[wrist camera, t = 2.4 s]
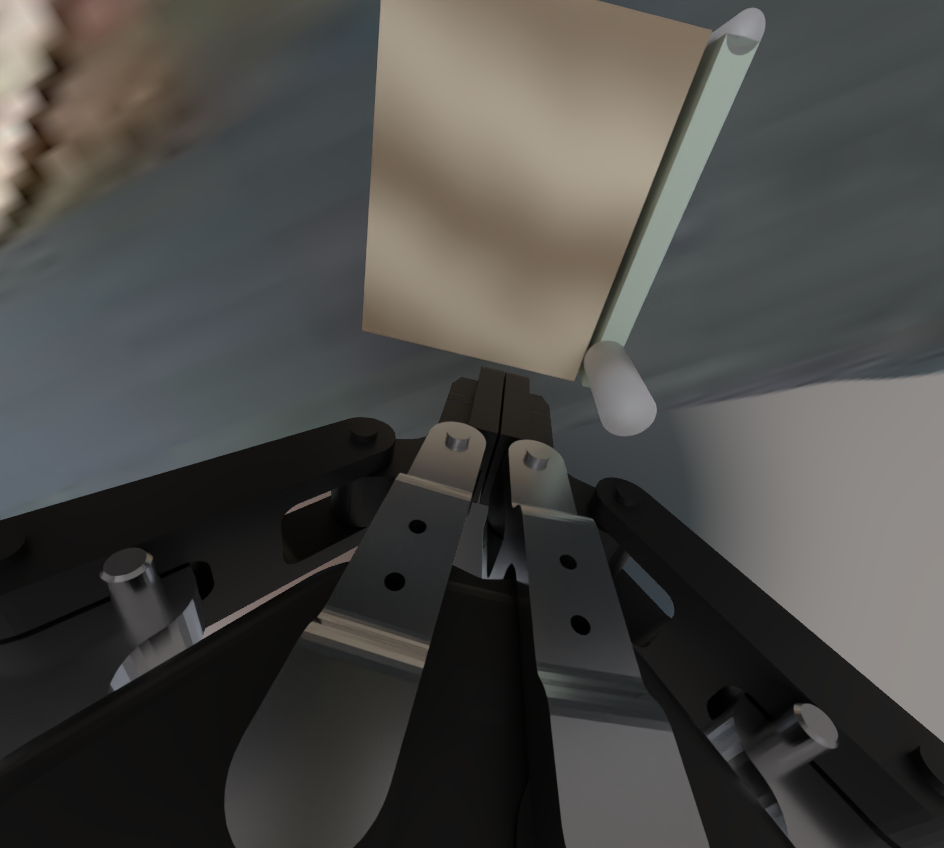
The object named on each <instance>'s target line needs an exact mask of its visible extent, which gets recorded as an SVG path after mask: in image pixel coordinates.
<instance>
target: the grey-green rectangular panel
mask: <svg viewBox="0 0 944 848" xmlns="http://www.w3.org/2000/svg"><path fill="white" fill-rule="evenodd" d="M764 30H765V17H764V15H763V13H762V12H761V11H760V10H759V9H757V8H748V9H746V10H744V11H742V12H741V13H739V14H738V15H736V16H735V17H734V18H732V19H731V20H730V21H728V22H727V23H725V24H724V25H723V26H721V27H720V28H718V29H717V30H716V31H714V32H713V33H712V34H711V35H710V37H709V40H708V42H707V45H706V47H705V50H704V52H703V55H702V57H701V60H700V62H699V65H698V68H697V70H696V73H695V75H694V78H693V80H692V83H691V85H690V88H689V90H688V93H687V96H686V98H685V101H684V103H683V106H682V108H681V111H680V113H679V116H678V118H677V121H676V123H675V126H674V129H673V131H672V134H671V136H670V139H669V141H668V144H667V146H666V149H665V151H664V154H663V157H662V159H661V162H660V164H659V167H658V169H657V172H656V174H655V177H654V179H653V182H652V185H651V187H650V190H649V192H648V195H647V197H646V200H645V202H644V205H643V207H642V210H641V212H640V215H639V218H638V220H637V223H636V225H635V228H634V230H633V233H632V235H631V238H630V240H629V243H628V246H627V248H626V251H625V253H624V256H623V258H622V261H621V263H620V266H619V268H618V271H617V273H616V276H615V279H614V281H613V284H612V286H611V289H610V291H609V294H608V296H607V299H606V301H605V304H604V307H603V309H602V312H601V314H600V317H599V319H598V322H597V324H596V327H595V329H594V332H593V334H592V337H591V340H590V342H589V345H588V347H587V350H586V352H585V355H584V357H583V360H582V362H581V365H580V368H579V370H578V371H579V375H580V379H581V382H582V386H585V387H589V388H591V390H592V394H593V397H594V400H595V403H596V407H597V410H598V413H599V416H600V420H601V423H602V425H603V426H604V428H605V429H606V430H607V431H609V432H610V433H612V434H615V435H619V436H631V435H635V434H638V433H640V432H642V431H644V430H645V429H647V428H648V427H649V426H650V425H651V424H652V422H653V421H654V418H655V416H656V412H657V409H656V404H655V402H654V400H653V398H652V396H651V395H650V393H649V391H648V389H647V388H646V386H645V384H644V382H643V381H642V379H641V377H640V375H639V373H638V372H637V370H636V368H635V366H634V365H633V363H632V361H631V359H630V357H629V356H628V354H627V352H626V350H625V349H624V345H625V343H626V341H627V338H628V336H629V334H630V332H631V329H632V327H633V325H634V323H635V320H636V318H637V316H638V314H639V311H640V309H641V307H642V305H643V303H644V300H645V298H646V296H647V294H648V291H649V289H650V287H651V285H652V282H653V280H654V278H655V276H656V273H657V271H658V269H659V267H660V264H661V262H662V260H663V258H664V256H665V253H666V251H667V249H668V247H669V244H670V242H671V240H672V238H673V235H674V233H675V231H676V229H677V226H678V224H679V222H680V220H681V217H682V215H683V213H684V211H685V209H686V206H687V204H688V202H689V200H690V197H691V195H692V193H693V191H694V188H695V186H696V184H697V182H698V179H699V177H700V175H701V173H702V170H703V168H704V166H705V164H706V162H707V159H708V157H709V155H710V153H711V150H712V148H713V146H714V144H715V141H716V139H717V137H718V135H719V132H720V130H721V128H722V126H723V123H724V121H725V119H726V117H727V115H728V112H729V110H730V108H731V106H732V103H733V101H734V99H735V97H736V94H737V92H738V90H739V88H740V85H741V83H742V81H743V79H744V76H745V74H746V72H747V70H748V68H749V65H750V63H751V61H752V59H753V56H754V54H755V52H756V50H757V47H758V45H759V43H760V40H761V38H762V36H763V34H764Z"/></svg>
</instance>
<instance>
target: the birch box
mask: <svg viewBox="0 0 944 848" xmlns="http://www.w3.org/2000/svg"><path fill="white" fill-rule="evenodd" d="M711 32H712V30H709V29H705V28H701V27H698V26H694V25H690V24H686V23H682V22H678V21H675V20H671V19H667V18H663V17H659V16H655V15H652V14H648V13H644V12H640V11H636V10H632V9H628V8H625V7H621V6H617V5H613V4H609V3H605V2H602V1H598V0H381V8H380V26H379V43H378V60H377V78H376V95H375V112H374V130H373V147H372V164H371V182H370V199H369V217H368V234H367V251H366V269H365V286H364V303H363V321H362V331H366V332H370V333H375V334H379V335H383V336H387V337H391V338H395V339H400V340H404V341H408V342H412V343H416V344H420V345H425V346H429V347H433V348H437V349H441V350H445V351H450V352H454V353H458V354H462V355H466V356H470V357H475V358H479V359H483V360H487V361H491V362H495V363H500V364H504V365H508V366H512V367H516V368H520V369H525V370H529V371H533V372H537V373H541V374H545V375H550V376H554V377H558V378H562V379H566V380H570V381H574V380H575V378H576V375H577V373H578V370H579V368H580V365H581V362H582V360H583V357H584V355H585V352H586V350H587V347H588V345H589V342H590V340H591V337H592V334H593V332H594V329H595V327H596V324H597V322H598V319H599V317H600V314H601V312H602V309H603V307H604V304H605V301H606V299H607V296H608V294H609V291H610V289H611V286H612V284H613V281H614V279H615V276H616V273H617V271H618V268H619V266H620V263H621V261H622V258H623V256H624V253H625V251H626V248H627V246H628V243H629V240H630V238H631V235H632V233H633V230H634V228H635V225H636V223H637V220H638V218H639V215H640V212H641V210H642V207H643V205H644V202H645V200H646V197H647V195H648V192H649V190H650V187H651V185H652V182H653V179H654V177H655V174H656V172H657V169H658V167H659V164H660V162H661V159H662V157H663V154H664V151H665V149H666V146H667V144H668V141H669V139H670V136H671V134H672V131H673V129H674V126H675V123H676V121H677V118H678V116H679V113H680V111H681V108H682V106H683V103H684V101H685V98H686V96H687V93H688V90H689V88H690V85H691V83H692V80H693V78H694V75H695V73H696V70H697V68H698V65H699V62H700V60H701V57H702V55H703V52H704V50H705V47H706V45H707V42H708V40H709V37H710V35H711Z"/></svg>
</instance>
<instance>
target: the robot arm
mask: <svg viewBox="0 0 944 848" xmlns="http://www.w3.org/2000/svg"><path fill="white" fill-rule="evenodd" d="M481 488H482V489H481ZM328 491H331V496H329V497H327V498H324V499H322V500H319V501H317V502H315V503H312V504H310V505H307V506H305V507H303V508H300V509H298V510H296V511H293V512H291V513H289V514H286V512H287V511H288V510H289V509H291V508H292V507H294V506H295V505H297V504H299V503H301V502H304V501H306V500H308V499H311V498H313V497H316V496H318V495H321V494H323V493H326V492H328ZM480 492H481V497H480V504H483V505H488V506H489V509H488V514H487V517H486V521H485V524H484V527H483V555H482V578H479V577H476V576H474V575H472V574H470V573H468V572H466V571H464V570H462V569H460V568H458V567H456V566H453V565H452V564H453V561H454V557H455V554H456V550H457V546H458V543H459V539H460V536H461V532H462V528H463V525H464V522H465V518H466V517H467V516H468V514H469V512H470V509H471V505H472V502H474V503H477V502H478V498H479V495H480ZM285 514H286V515H285ZM358 545H359V546H358ZM356 546H358V548H357V549H356V551H355V553H354V555H353V557H352V558H351V560H350V561H349V562H345V563H341V564H338V565H335V566H331V567H329V568H326V569H324V570H322V571H320V572H317V573H315V574H313V575H312V576H310V577H308V578H306V579H305V580H303V581H301V582H299V583H298V584H296V585H294V586H293V587H291V588H289V589H288V590H286V591H284V592H282V593H281V594H279V595H277V596H276V597H274V598H272V599H271V600H269V601H267V602H265V603H264V604H262V605H260V606H259V607H257V608H255V609H254V610H252V611H250V612H248V613H247V614H245V615H243V616H242V617H240V618H238V619H236V620H235V621H233V622H231V623H230V624H228V625H226V626H225V627H223V628H221V629H220V630H218V631H216V632H214V633H213V634H211V635H209V636H207V637H206V638H204V639H202V640H201V638H202V636H203V634H204V631H205V628H206V627H208V626H210V625H212V624H214V623H216V622H218V621H219V620H221V619H223V618H225V617H227V616H228V615H231V614H232V613H234V612H236V611H238V610H240V609H242V608H244V607H245V606H247V605H249V604H251V603H253V602H255V601H256V600H258V599H260V598H262V597H264V596H265V595H268V594H269V593H271V592H273V591H275V590H277V589H279V588H281V587H282V586H284V585H286V584H288V583H290V582H292V581H294V580H295V579H297V578H299V577H301V576H303V575H304V574H306V573H308V572H310V571H312V570H314V569H316V568H318V567H319V566H321V565H323V564H325V563H327V562H329V561H330V560H332V559H334V558H336V557H338V556H340V555H342V554H344V553H345V552H347V551H349V550H351V549H353V548H355V547H356ZM630 556H631V557H632V558H633V559H634V560H635V561H636V562H637V563H638V564H639V565H640V566H641V567H642V568H643V569H644V570H645V571H646V572H647V573H648V574H649V575H650V576H651V577H652V578H653V579H654V580H655V581H656V582H657V583H658V584H659V585H660V586H661V587H662V588H663V589H664V590H665V591H666V592H667V593H668V595H669V596H670V597H671V600H672V601H673V604H674V610H675V611H674V616H673V617H672V618H670V617H669V616H667V615H666V614H665V613H664V612H663V611H662V610H661V609H660V608H659V607H658V605H657V604H656V603H655V602H654V601H653V600H652V599H651V598H650V597H649V596H648V595H647V594H646V593H645V592H644V591H643V590H642V589H641V588H640V587H639V586H638V585H637V583H635V581H634V580H633V579H632V578H631V577H630V576H629V575H628V574H627V573H626V572H625V571H624V570H623V569H622V568H623V566H624V565H625V563H626V562H627V560H628V558H629V557H630ZM200 640H201V641H200ZM0 848H944V743H943V742H942V741H941V740H940V739H939V738H937V737H936V736H935V735H934V734H932V732H930V731H929V730H928V729H926V727H924V726H923V725H922V724H921V723H920V722H918V721H917V720H916V719H915V718H914V717H913V716H911V715H910V714H909V713H908V712H907V711H905V710H904V709H903V708H902V707H901V706H899V705H898V704H897V703H896V702H895V701H893V700H892V699H891V698H890V697H889V696H887V695H886V694H885V693H884V692H883V691H882V690H880V689H879V688H878V687H877V686H875V685H874V684H873V683H872V682H871V681H870V680H869V679H867V678H866V677H865V676H864V675H863V674H861V673H860V672H859V671H858V670H856V668H854V667H853V666H852V665H851V664H850V663H848V662H847V661H846V660H845V659H844V658H842V657H841V656H840V655H839V654H838V653H837V652H835V651H834V650H833V649H832V648H831V647H829V646H828V645H827V644H826V643H825V642H823V641H822V640H821V639H820V638H819V637H817V636H816V635H815V634H814V633H813V632H811V631H810V630H809V629H808V628H807V627H806V626H804V625H803V624H802V623H801V622H800V621H799V620H797V619H796V618H795V617H794V616H793V615H791V614H790V613H789V612H788V611H787V610H785V609H784V608H783V607H782V606H780V605H779V604H778V603H777V602H776V601H775V600H774V599H772V598H771V597H770V596H769V595H768V594H766V593H765V592H764V591H763V590H761V588H759V587H758V586H757V585H756V584H755V583H753V582H752V581H751V580H750V579H749V578H747V577H746V576H745V575H744V574H743V573H741V572H740V571H739V570H738V569H737V568H736V567H734V566H733V565H732V564H731V563H730V562H728V561H727V560H726V559H725V558H724V557H723V556H721V555H720V554H719V553H718V552H717V551H715V550H714V549H713V548H712V547H711V546H709V545H708V544H707V543H706V542H705V541H703V540H702V539H701V538H700V537H699V536H698V535H696V534H695V533H694V532H693V531H692V530H690V529H689V528H688V527H687V526H686V525H684V524H683V523H682V522H681V521H680V520H678V519H677V518H676V517H675V516H674V515H673V514H671V513H670V512H669V511H668V510H667V509H666V508H664V507H663V506H662V505H661V504H660V503H658V502H657V501H656V500H655V499H654V498H652V497H651V496H650V495H649V494H648V493H646V492H645V491H644V490H643V489H641V488H640V487H638V486H637V485H635V484H633V483H631V482H628V481H626V480H623V479H619V478H604V479H602V480H600V481H599V482H598V484H597V486H596V488H595V487H592V486H590V485H588V484H586V483H584V482H582V481H580V480H578V479H576V478H574V477H572V476H571V475H569V474H568V473H567V472H566V467H565V463H564V460H563V458H562V457H561V455H560V454H559V453H558V452H557V451H556V450H554V448H553V439H552V429H551V419H550V409H549V406H548V404H547V403H546V402H545V400H544V399H543V398H542V397H541V396H537V395H533V394H529V378H528V377H524V376H520V375H516V374H512V373H508V372H506V374H505V376H504V372H503V371H499V370H495V369H491V368H487V367H483V366H482V368H481V372H480V376H479V380H478V381H475V380H471V379H467V378H463V377H461V378H460V379H458V380H457V381H455V382H454V383H452V386H451V389H450V392H449V395H448V398H447V401H446V403H445V406H444V409H443V412H442V415H441V418H440V421H439V423H438V424H437V425H435V426H433V427H432V428H431V430H430V431H429V433H428V435H427V436H426V437H423V438H419V439H395V432H394V431H393V429H392V428H391V427H390V426H389V425H387V424H386V423H384V422H382V421H379V420H376V419H373V418H365V417H357V418H350V419H346V420H343V421H339V422H336V423H333V424H329V425H326V426H322V427H319V428H315V429H312V430H309V431H305V432H302V433H298V434H295V435H291V436H288V437H285V438H281V439H278V440H274V441H271V442H267V443H264V444H261V445H257V446H254V447H250V448H247V449H243V450H240V451H237V452H233V453H230V454H226V455H223V456H219V457H216V458H213V459H209V460H206V461H202V462H199V463H195V464H192V465H189V466H185V467H182V468H178V469H175V470H171V471H168V472H165V473H161V474H158V475H154V476H151V477H147V478H144V479H141V480H137V481H134V482H130V483H127V484H123V485H120V486H117V487H113V488H110V489H106V490H103V491H99V492H96V493H93V494H89V495H86V496H82V497H79V498H75V499H72V500H69V501H65V502H62V503H58V504H55V505H51V506H48V507H45V508H41V509H38V510H34V511H31V512H27V513H24V514H21V515H17V516H14V517H10V518H7V519H3V520H0Z"/></svg>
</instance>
